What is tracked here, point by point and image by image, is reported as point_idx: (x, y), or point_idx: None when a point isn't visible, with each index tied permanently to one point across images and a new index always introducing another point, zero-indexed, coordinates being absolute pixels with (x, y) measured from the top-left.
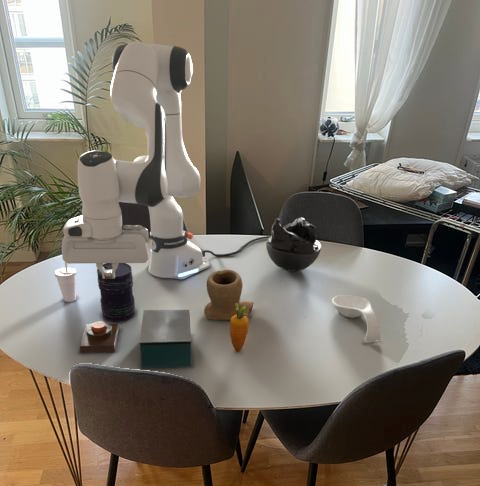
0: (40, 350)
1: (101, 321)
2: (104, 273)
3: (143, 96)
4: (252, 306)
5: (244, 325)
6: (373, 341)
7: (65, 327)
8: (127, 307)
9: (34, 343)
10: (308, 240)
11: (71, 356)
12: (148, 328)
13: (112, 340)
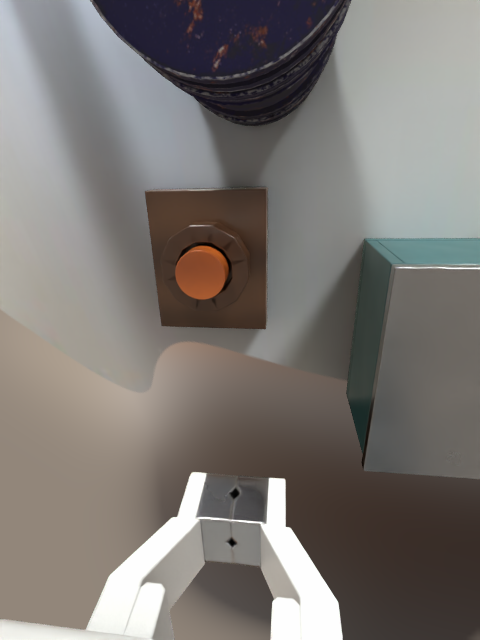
0: (57, 296)
1: (207, 254)
2: (205, 557)
3: None
4: None
5: None
6: None
7: (75, 165)
8: (303, 94)
9: (25, 261)
10: None
11: (149, 329)
12: (403, 402)
13: (257, 303)
